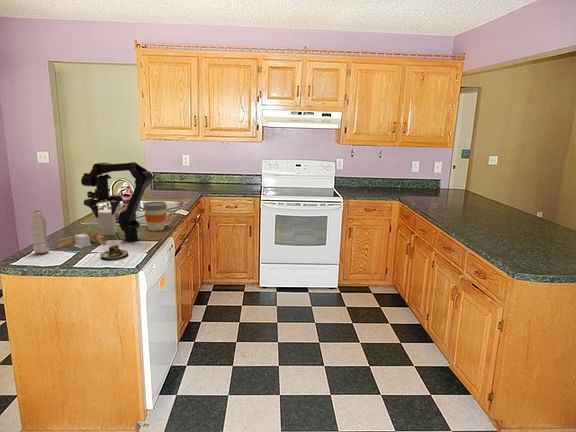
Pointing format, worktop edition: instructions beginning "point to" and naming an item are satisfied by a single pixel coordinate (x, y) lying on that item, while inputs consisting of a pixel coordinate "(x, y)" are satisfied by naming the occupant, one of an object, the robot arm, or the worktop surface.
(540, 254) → the worktop surface
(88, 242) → the block
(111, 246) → the burger
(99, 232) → the small box
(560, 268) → the worktop surface
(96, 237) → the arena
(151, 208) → the reusable coffee cup
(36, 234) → the plastic bottle
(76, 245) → the pad
